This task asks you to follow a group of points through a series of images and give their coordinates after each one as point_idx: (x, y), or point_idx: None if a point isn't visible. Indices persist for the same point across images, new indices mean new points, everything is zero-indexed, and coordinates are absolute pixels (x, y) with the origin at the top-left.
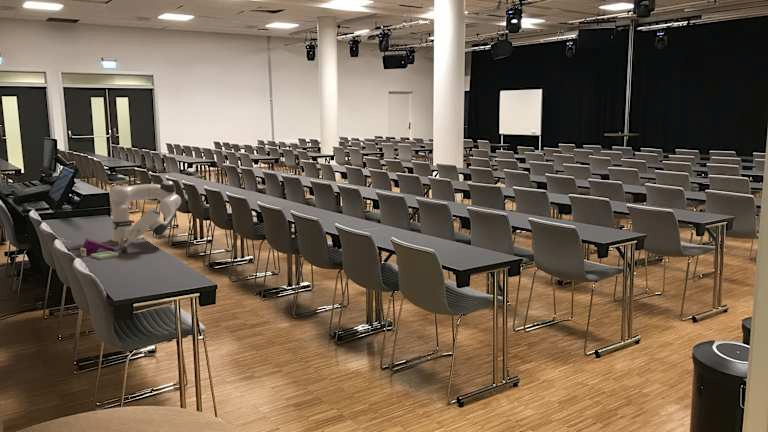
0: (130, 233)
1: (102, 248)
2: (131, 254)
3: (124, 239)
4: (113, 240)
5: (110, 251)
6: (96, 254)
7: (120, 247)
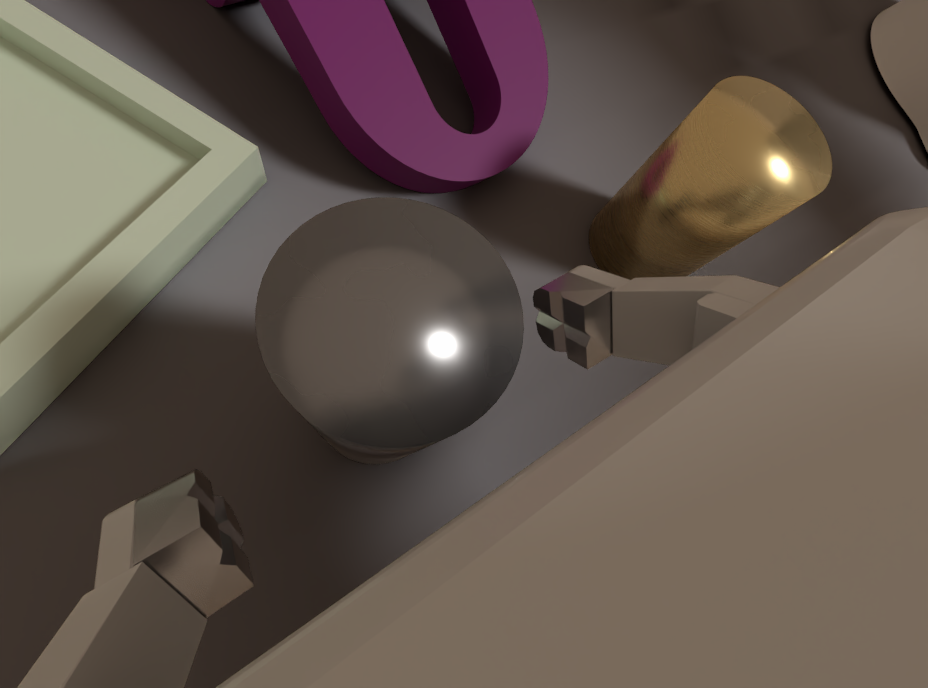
0: (896, 499)
1: (266, 13)
2: (193, 682)
3: (347, 384)
4: (878, 24)
5: (202, 196)
6: (11, 35)
7: (604, 219)
